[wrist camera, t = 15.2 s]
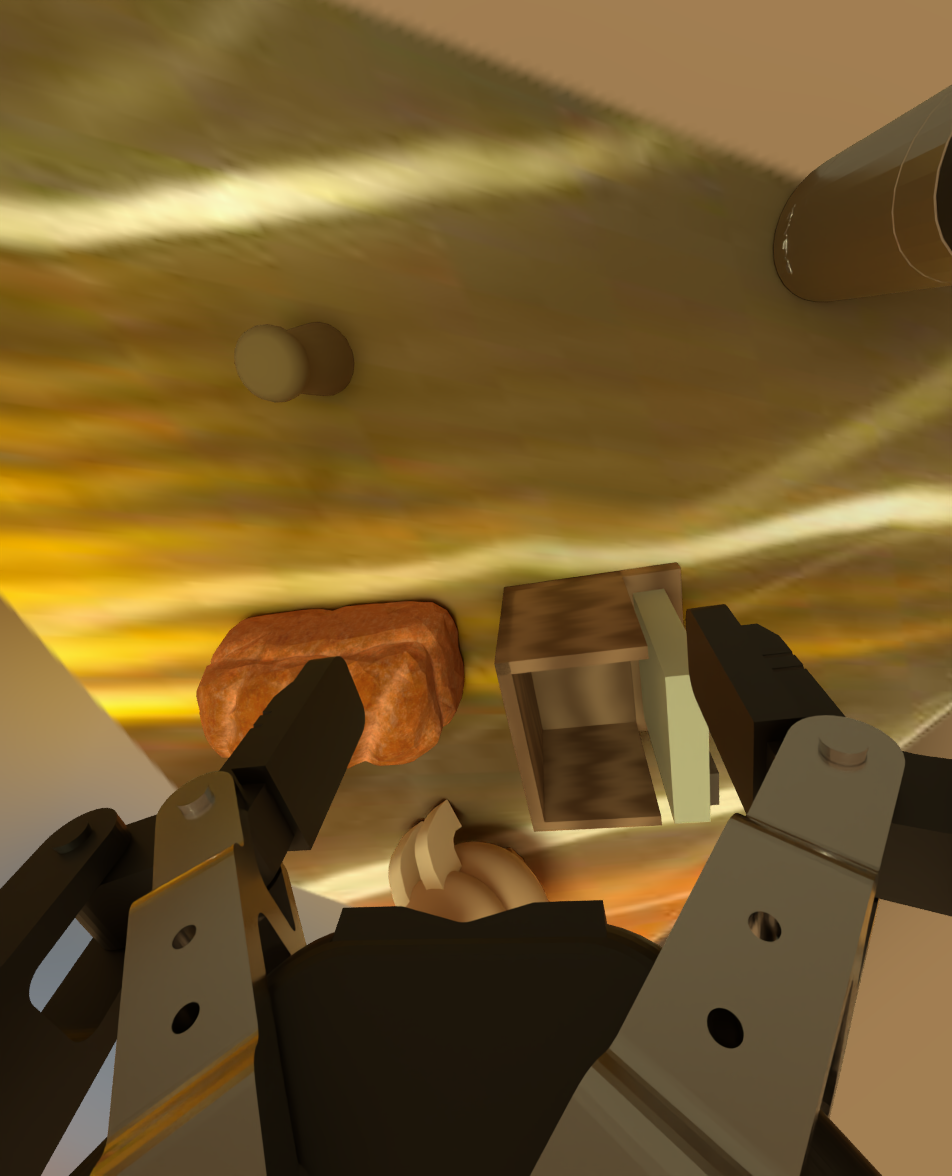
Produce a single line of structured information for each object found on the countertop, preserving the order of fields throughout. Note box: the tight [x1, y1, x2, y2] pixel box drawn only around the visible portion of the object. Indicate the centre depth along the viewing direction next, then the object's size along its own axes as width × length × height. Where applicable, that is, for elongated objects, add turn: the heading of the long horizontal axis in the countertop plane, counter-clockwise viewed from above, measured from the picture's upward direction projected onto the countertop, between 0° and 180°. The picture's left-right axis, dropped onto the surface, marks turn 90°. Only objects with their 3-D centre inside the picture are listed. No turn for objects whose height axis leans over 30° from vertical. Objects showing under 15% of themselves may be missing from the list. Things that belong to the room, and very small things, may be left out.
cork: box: [235, 322, 354, 402], centre depth 40 cm, size 6×6×11 cm
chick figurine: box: [389, 800, 549, 922], centre depth 61 cm, size 30×28×23 cm
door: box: [633, 589, 711, 823], centre depth 47 cm, size 4×16×14 cm, turn 12°
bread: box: [196, 601, 464, 769], centre depth 52 cm, size 14×26×16 cm, turn 99°
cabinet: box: [494, 563, 719, 832], centre depth 49 cm, size 18×20×14 cm
